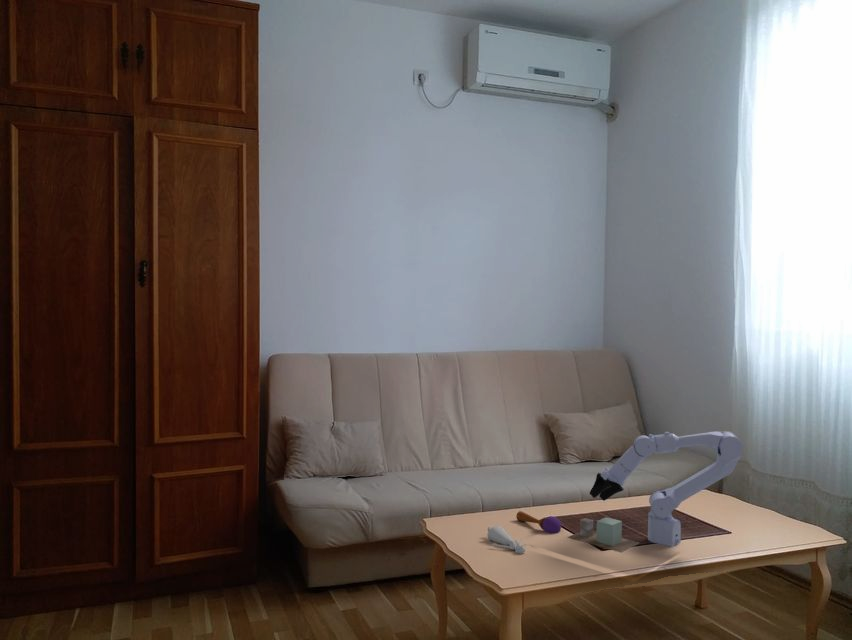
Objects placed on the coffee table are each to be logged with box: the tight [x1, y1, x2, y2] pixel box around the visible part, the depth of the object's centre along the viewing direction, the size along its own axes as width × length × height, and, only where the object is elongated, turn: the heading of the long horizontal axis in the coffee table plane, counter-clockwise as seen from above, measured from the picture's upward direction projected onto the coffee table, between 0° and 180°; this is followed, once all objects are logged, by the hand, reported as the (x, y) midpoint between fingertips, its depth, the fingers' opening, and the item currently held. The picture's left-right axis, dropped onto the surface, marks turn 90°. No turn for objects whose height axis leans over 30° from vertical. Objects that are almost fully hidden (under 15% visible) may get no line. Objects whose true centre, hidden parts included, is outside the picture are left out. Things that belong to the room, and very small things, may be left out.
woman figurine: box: [487, 525, 526, 555], centre depth 220 cm, size 12×4×18 cm
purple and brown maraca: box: [516, 510, 562, 534], centre depth 237 cm, size 6×6×20 cm
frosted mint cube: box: [596, 516, 623, 546], centre depth 220 cm, size 6×6×6 cm
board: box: [567, 517, 641, 553], centre depth 222 cm, size 19×12×6 cm, turn 46°
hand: (596, 497), depth 227 cm, fingers open, 7 cm apart
